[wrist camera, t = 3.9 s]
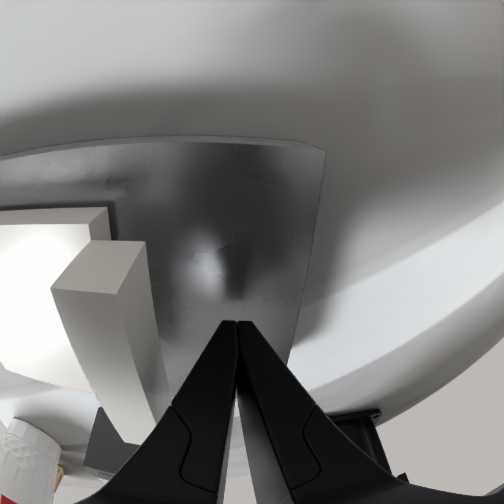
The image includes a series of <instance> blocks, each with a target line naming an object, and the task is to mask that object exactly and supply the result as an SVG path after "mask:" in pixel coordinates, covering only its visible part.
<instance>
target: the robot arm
mask: <svg viewBox="0 0 504 504" xmlns="http://www.w3.org/2000/svg"><path fill="white" fill-rule="evenodd" d="M236 392H237V401H238V407H239V413H240V418H241V424H242V430H243V435H244V441H245V446H246V452H247V457H248V462H249V467H250V472H251V477H252V482H253V487H254V492H255V496H256V501H257V504H504V484H502V485H500V486H499V487H497V488H496V489H494V490H492V491H491V492H489V493H487V494H486V495H484V496H470V495H463V494H456V493H451V492H445V491H440V490H435V489H430V488H426V487H422V486H417V485H413V484H410V483H409V481H408V478H407V476H406V473H403V474H401V475H398V477H397V478H396V477H394V476H393V475H392V472H391V469H390V466H389V463H388V461H387V458H386V455H385V452H384V449H383V447H382V444H381V441H380V439H379V436H378V433H377V431H376V428H375V425H374V424H375V423H376V422H377V421H378V419H379V418H380V417H381V415H382V413H381V410H380V409H375V410H370V411H365V412H360V413H355V414H349V415H343V416H337V417H330V418H329V417H328V416H327V415H326V414H325V413H324V412H323V410H322V409H321V408H320V407H319V405H317V404H316V402H315V401H314V400H313V398H312V397H311V396H310V395H309V393H308V392H307V391H306V390H305V388H304V387H303V386H302V385H301V383H300V382H299V381H298V380H297V378H296V377H295V376H294V375H293V373H292V372H291V371H290V370H289V368H288V367H287V366H286V365H285V363H284V362H283V361H282V359H281V358H280V357H279V356H278V354H277V353H276V352H275V350H274V349H273V348H272V347H271V345H270V344H269V343H268V341H267V340H266V339H265V337H264V336H263V335H262V334H261V332H260V331H259V330H258V328H257V327H256V326H255V324H254V323H253V322H252V321H244V320H239V321H238V322H236V321H235V320H222V321H221V322H220V324H219V326H218V327H217V329H216V331H215V332H214V334H213V336H212V337H211V339H210V340H209V342H208V344H207V345H206V347H205V349H204V350H203V352H202V353H201V355H200V357H199V358H198V360H197V362H196V363H195V365H194V366H193V368H192V370H191V371H190V373H189V374H188V376H187V378H186V379H185V381H184V383H183V384H182V386H181V387H180V389H179V391H178V392H177V394H176V395H175V397H174V399H173V400H172V402H171V405H170V406H168V408H167V410H166V411H165V413H164V414H163V416H162V417H161V419H160V420H159V422H158V423H157V425H156V426H155V428H154V429H153V431H152V432H151V433H150V434H149V436H148V437H147V438H146V439H145V441H144V442H143V443H142V444H141V446H140V447H139V448H138V449H137V450H136V451H135V452H134V454H133V455H132V456H131V457H130V458H129V459H128V460H127V461H126V463H125V464H124V465H123V466H122V467H121V468H120V469H119V470H118V471H117V473H116V474H115V475H114V476H113V477H112V478H111V479H110V480H109V481H108V482H107V483H106V484H105V485H104V486H103V487H102V488H101V489H100V490H98V491H97V492H96V493H94V494H92V495H91V496H89V497H87V498H86V499H83V500H81V501H79V502H77V503H74V504H223V499H224V491H225V483H226V474H227V466H228V457H229V449H230V441H231V432H232V424H233V416H234V407H235V398H236ZM315 404H316V405H315Z"/></svg>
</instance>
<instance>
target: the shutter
mask: <svg viewBox="0 0 504 504" xmlns="http://www.w3.org/2000/svg"><path fill="white" fill-rule="evenodd" d="M0 361H1V362H2V364H3V365H4V367H5V369H7V370H9V371H12V372H15V373H18V374H21V375H24V376H27V377H30V378H33V379H36V380H40V381H43V382H47V383H50V384H54V385H57V386H61V387H65V388H69V389H73V390H77V391H82V392H86V393H91V394H95V395H96V397H97V399H98V401H99V402H100V404H101V406H102V408H103V409H104V411H105V413H106V414H107V416H108V418H109V419H110V421H111V423H112V424H113V426H114V427H115V429H116V430H117V432H118V433H119V435H120V437H121V438H122V439H123V441H124V442H126V443H132V444H138V445H141V444H142V443H143V442H144V441H145V439H146V438H147V437H148V436H149V434H150V433H151V432H152V431H153V429H154V428H155V426H156V425H157V423H158V422H159V420H160V419H161V417H162V416H163V414H164V413H165V411H166V410H167V408H168V406H170V405H171V402H172V397H171V393H170V388H169V384H168V380H167V375H166V371H165V366H164V362H163V357H162V352H161V347H160V341H159V336H158V330H157V325H156V319H155V313H154V306H153V300H152V293H151V285H150V278H149V269H148V261H147V251H146V241H111V234H110V226H109V218H108V208H107V207H83V208H51V209H29V210H12V211H0Z"/></svg>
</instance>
